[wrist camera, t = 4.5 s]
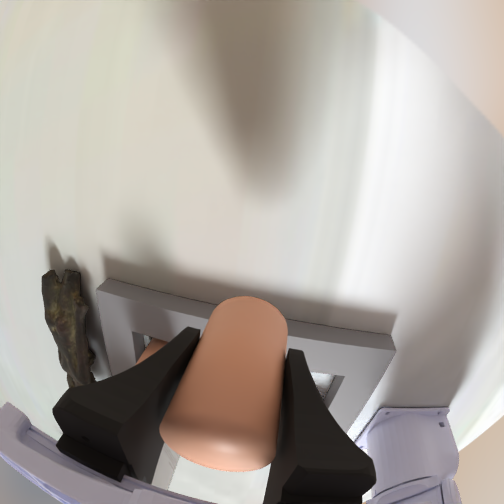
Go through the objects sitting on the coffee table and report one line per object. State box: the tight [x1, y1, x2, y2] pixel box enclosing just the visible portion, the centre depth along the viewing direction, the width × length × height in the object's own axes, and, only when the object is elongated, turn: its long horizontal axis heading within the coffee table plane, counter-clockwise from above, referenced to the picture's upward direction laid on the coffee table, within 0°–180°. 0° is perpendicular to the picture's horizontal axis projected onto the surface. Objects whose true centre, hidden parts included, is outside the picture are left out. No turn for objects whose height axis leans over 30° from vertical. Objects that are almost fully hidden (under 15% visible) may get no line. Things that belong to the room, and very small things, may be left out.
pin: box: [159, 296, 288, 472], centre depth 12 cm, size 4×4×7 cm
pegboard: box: [96, 278, 396, 433], centre depth 24 cm, size 24×12×2 cm, turn 82°
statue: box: [42, 270, 97, 388], centre depth 25 cm, size 6×6×20 cm
